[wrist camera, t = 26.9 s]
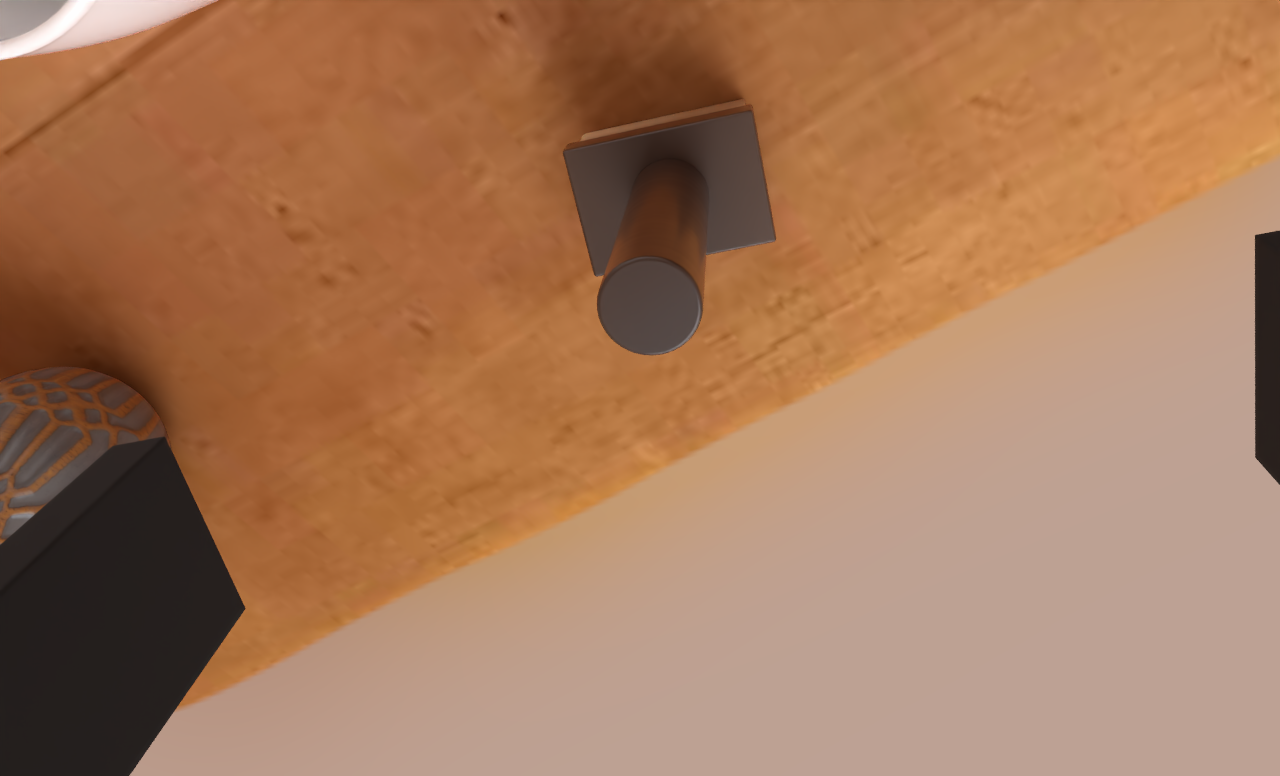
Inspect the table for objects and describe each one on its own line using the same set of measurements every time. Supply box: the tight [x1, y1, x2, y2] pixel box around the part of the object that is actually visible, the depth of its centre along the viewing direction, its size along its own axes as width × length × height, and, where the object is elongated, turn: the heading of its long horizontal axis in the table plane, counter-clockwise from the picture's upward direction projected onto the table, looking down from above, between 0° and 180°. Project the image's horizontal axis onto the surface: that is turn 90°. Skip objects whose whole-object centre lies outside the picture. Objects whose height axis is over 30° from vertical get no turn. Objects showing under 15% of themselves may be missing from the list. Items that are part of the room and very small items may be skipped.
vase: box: [0, 367, 172, 545], centre depth 34 cm, size 7×7×9 cm
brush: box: [563, 99, 776, 355], centre depth 27 cm, size 5×4×12 cm
